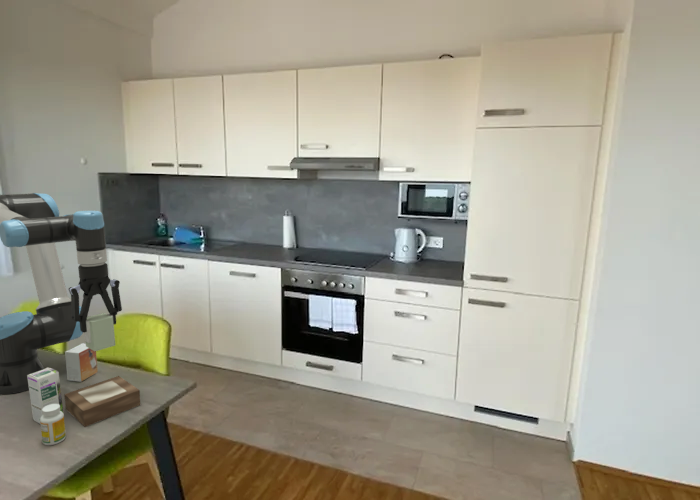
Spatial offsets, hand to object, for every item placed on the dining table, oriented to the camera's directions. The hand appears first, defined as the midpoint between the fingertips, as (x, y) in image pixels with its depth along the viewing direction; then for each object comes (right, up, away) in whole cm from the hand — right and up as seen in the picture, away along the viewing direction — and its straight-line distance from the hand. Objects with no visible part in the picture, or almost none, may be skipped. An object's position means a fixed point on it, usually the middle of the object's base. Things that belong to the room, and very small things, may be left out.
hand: (99, 338), depth 138 cm
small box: (-17, -17, +21) cm, 32 cm away
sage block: (0, -2, 0) cm, 2 cm away
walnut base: (0, -21, +2) cm, 22 cm away
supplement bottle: (-4, -25, -15) cm, 29 cm away
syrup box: (-12, -23, -5) cm, 26 cm away
